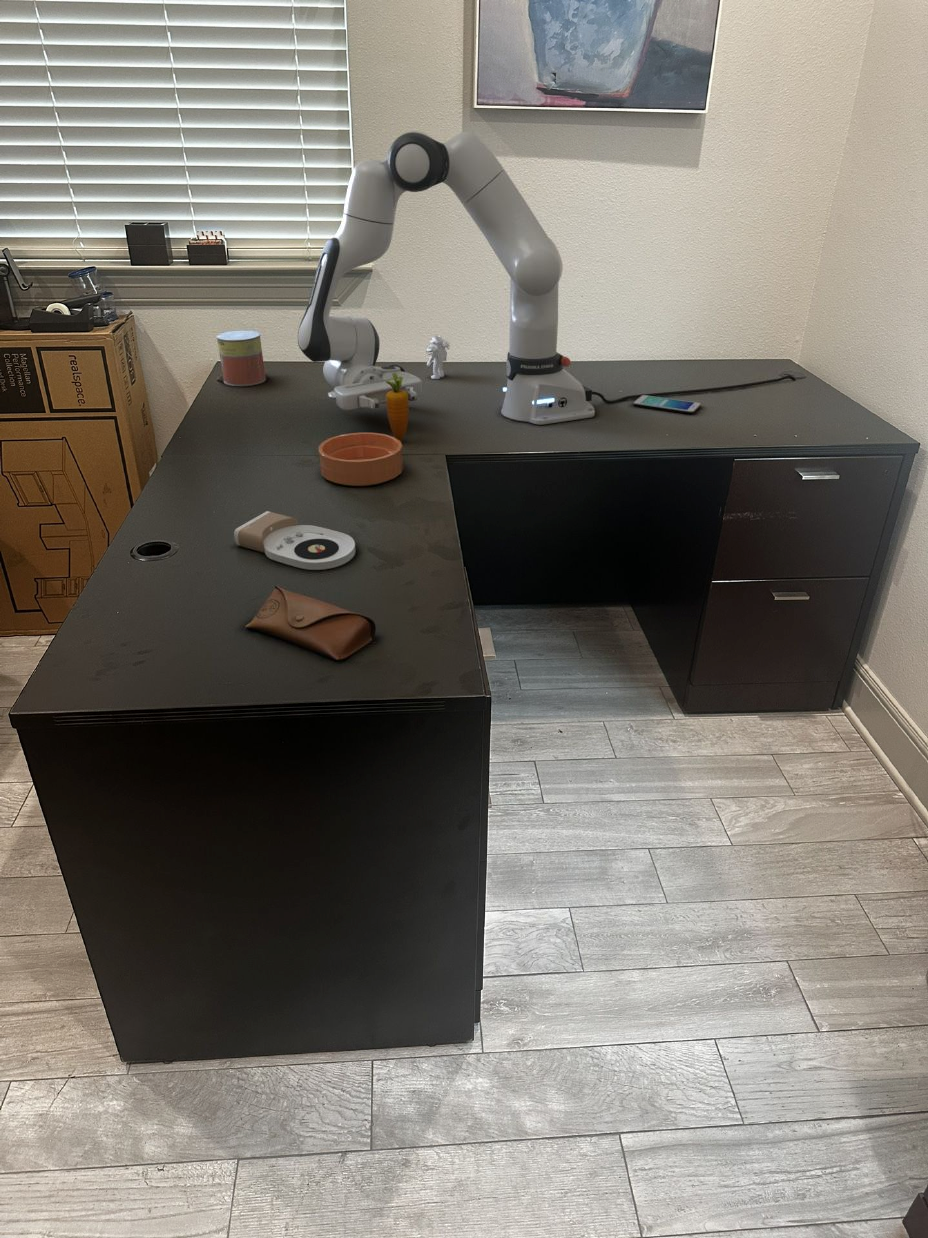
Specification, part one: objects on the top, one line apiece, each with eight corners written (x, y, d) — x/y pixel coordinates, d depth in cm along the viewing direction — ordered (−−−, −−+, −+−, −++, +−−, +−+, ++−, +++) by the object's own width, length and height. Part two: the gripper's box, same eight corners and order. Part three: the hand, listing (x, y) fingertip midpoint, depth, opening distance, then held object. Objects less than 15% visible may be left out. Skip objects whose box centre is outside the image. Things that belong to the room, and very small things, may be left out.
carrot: (407, 446, 182) (404, 377, 174) (385, 445, 183) (381, 376, 175) (413, 438, 186) (410, 371, 179) (391, 437, 187) (387, 370, 179)
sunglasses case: (239, 626, 119) (250, 581, 118) (271, 628, 125) (281, 585, 124) (341, 662, 111) (353, 614, 110) (369, 662, 117) (380, 616, 117)
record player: (273, 507, 147) (367, 531, 139) (275, 523, 149) (369, 547, 141) (228, 532, 139) (326, 560, 131) (231, 549, 140) (328, 577, 132)
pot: (396, 454, 178) (395, 429, 175) (408, 483, 164) (407, 457, 161) (318, 461, 175) (316, 435, 172) (324, 491, 161) (321, 464, 158)
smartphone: (642, 394, 211) (701, 402, 204) (642, 397, 211) (701, 406, 205) (632, 402, 205) (693, 411, 199) (632, 405, 205) (692, 414, 199)
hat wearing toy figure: (435, 381, 225) (434, 336, 218) (423, 379, 226) (421, 334, 220) (452, 373, 231) (452, 329, 225) (441, 371, 233) (440, 327, 227)
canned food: (226, 375, 231) (219, 330, 225) (267, 373, 232) (262, 329, 226) (221, 386, 222) (213, 340, 215) (263, 385, 223) (257, 339, 217)
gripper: (323, 379, 184) (351, 394, 174) (403, 365, 194) (434, 378, 184) (325, 407, 188) (353, 423, 178) (404, 392, 197) (435, 406, 187)
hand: (395, 400), depth 181 cm, fingers open, 8 cm apart
